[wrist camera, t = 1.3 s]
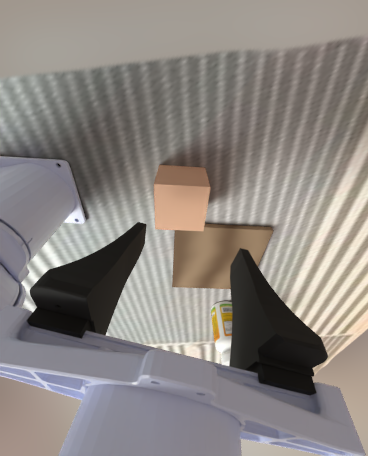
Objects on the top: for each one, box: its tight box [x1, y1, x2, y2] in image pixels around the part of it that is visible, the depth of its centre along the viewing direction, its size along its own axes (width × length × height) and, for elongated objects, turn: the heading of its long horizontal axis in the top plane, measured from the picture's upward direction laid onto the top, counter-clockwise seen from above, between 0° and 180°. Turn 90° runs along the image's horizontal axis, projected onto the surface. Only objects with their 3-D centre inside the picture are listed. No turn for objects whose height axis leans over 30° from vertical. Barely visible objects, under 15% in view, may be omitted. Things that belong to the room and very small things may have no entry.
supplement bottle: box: [211, 301, 232, 366], centre depth 34 cm, size 5×5×10 cm
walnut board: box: [172, 224, 273, 289], centre depth 29 cm, size 13×13×1 cm
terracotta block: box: [154, 165, 210, 231], centre depth 20 cm, size 5×5×5 cm
